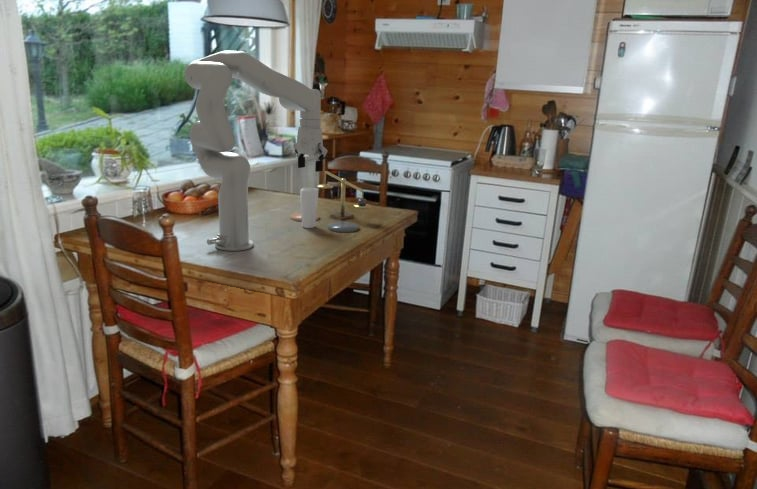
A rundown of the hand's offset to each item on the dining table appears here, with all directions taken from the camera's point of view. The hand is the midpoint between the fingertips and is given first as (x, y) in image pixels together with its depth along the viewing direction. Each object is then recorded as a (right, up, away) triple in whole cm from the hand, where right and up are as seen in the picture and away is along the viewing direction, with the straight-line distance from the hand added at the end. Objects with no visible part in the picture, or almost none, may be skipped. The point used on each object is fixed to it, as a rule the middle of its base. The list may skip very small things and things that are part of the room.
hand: (310, 169), depth 210 cm
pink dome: (-5, -18, +19) cm, 26 cm away
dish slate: (+12, -22, +7) cm, 26 cm away
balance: (+11, -17, +23) cm, 31 cm away
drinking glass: (-1, -22, +6) cm, 23 cm away
